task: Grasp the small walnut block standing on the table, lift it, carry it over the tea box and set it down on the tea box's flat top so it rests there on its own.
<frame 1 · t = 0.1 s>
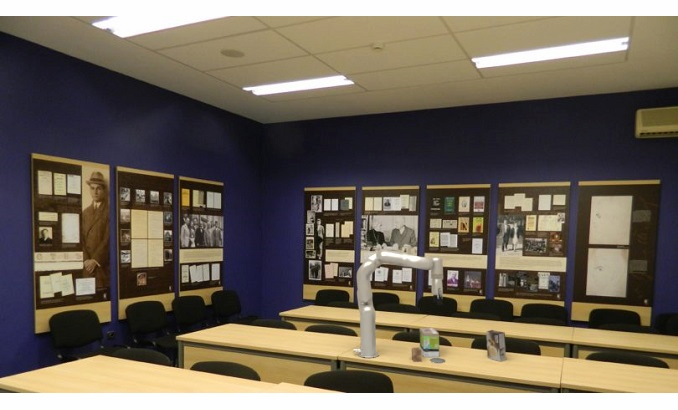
hand: (437, 303, 278), 31 cm above the table, fingers open, 9 cm apart
block: (416, 360, 263), on the table
tea box: (429, 354, 276), on the table
coffee box: (496, 359, 263), on the table
coaster: (437, 360, 261), on the table
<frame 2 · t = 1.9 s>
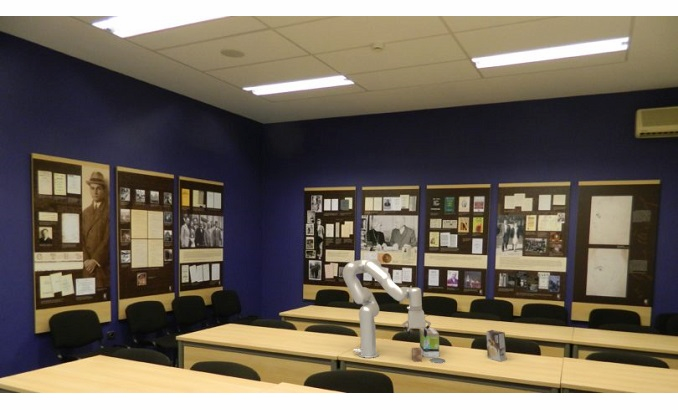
hand: (417, 337, 263), 14 cm above the table, fingers open, 9 cm apart
nothing on the table moved.
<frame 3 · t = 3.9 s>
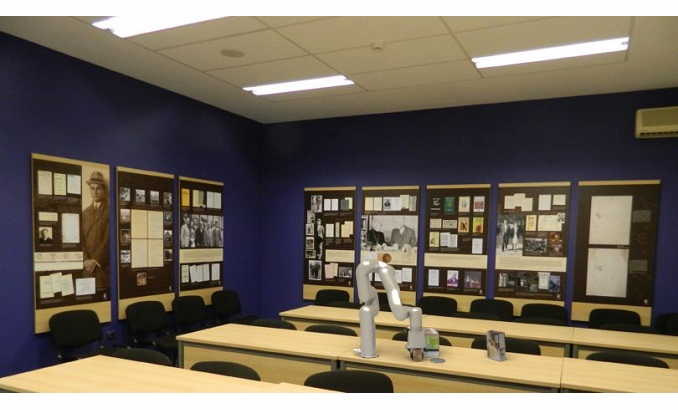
hand: (416, 358, 263), 1 cm above the table, fingers closed on block, 5 cm apart
block: (416, 360, 263), on the table, touching gripper
everything else where it was.
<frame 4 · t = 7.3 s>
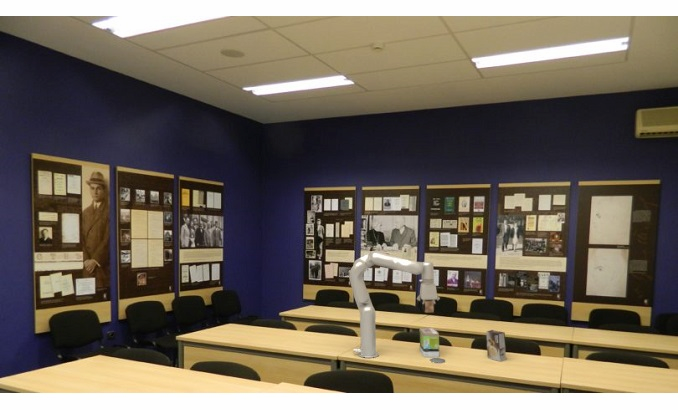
hand: (428, 309, 277), 27 cm above the table, fingers closed on block, 5 cm apart
block: (428, 311, 277), point 26 cm above the table, touching gripper
everything else where it was.
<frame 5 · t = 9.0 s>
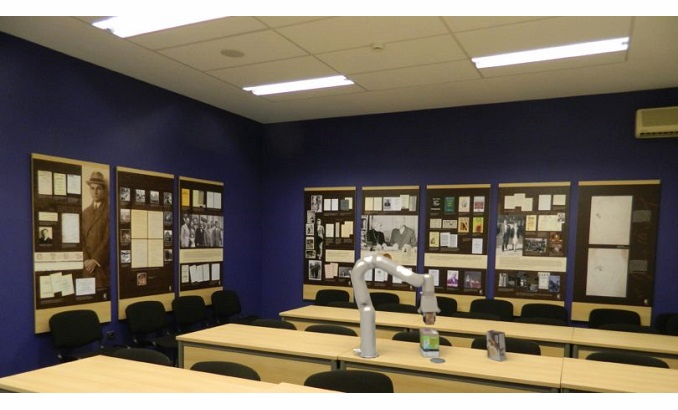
hand: (429, 322, 277), 20 cm above the table, fingers closed on block, 5 cm apart
block: (429, 324, 277), point 19 cm above the table, touching gripper
everything else where it was.
when the fingers open (17 cm above the table, at t = 10.5 s): block drops 1 cm, resting on tea box.
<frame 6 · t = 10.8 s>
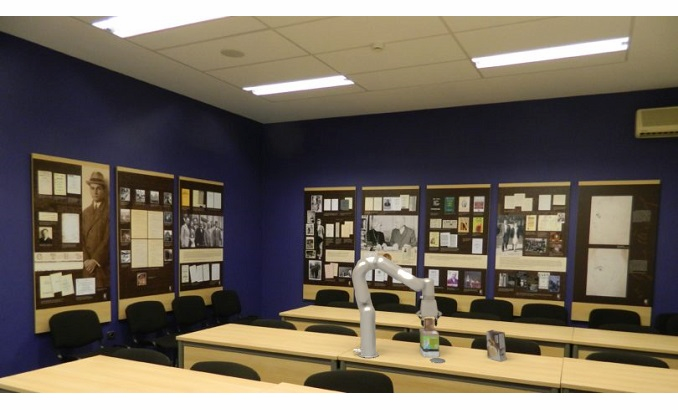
hand: (429, 325, 277), 17 cm above the table, fingers open, 7 cm apart
block: (429, 330, 277), point 15 cm above the table, touching tea box
tea box: (429, 354, 276), on the table, touching block
everything else where it was.
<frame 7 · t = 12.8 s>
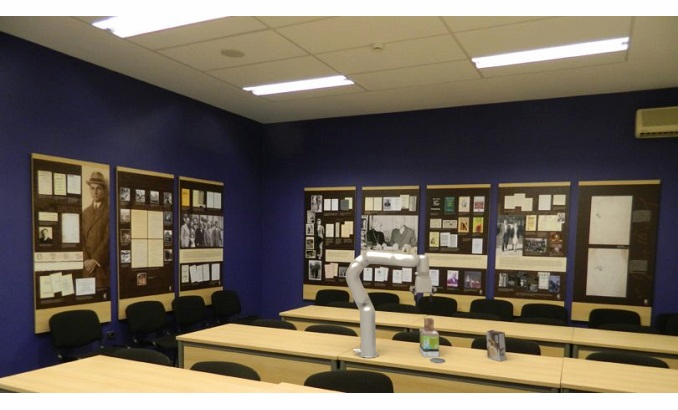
hand: (423, 301, 276), 33 cm above the table, fingers open, 9 cm apart
nothing on the table moved.
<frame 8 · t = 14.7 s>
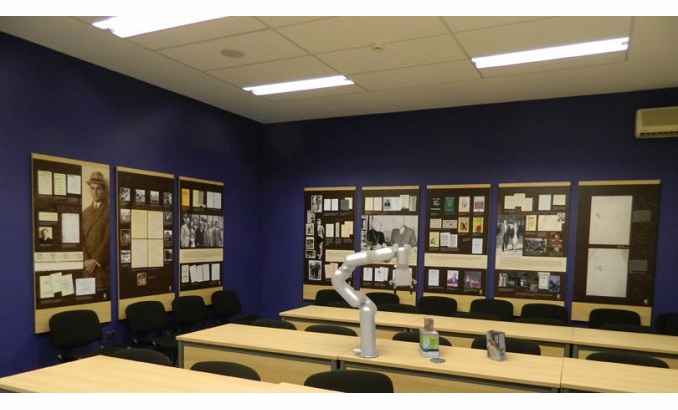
hand: (403, 294, 272), 38 cm above the table, fingers open, 9 cm apart
nothing on the table moved.
at the end: block inside the target area in the tea box (0.4 cm from its centre), point 15.0 cm above the tea box's base; block tilted 0°; the gripper is holding nothing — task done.
